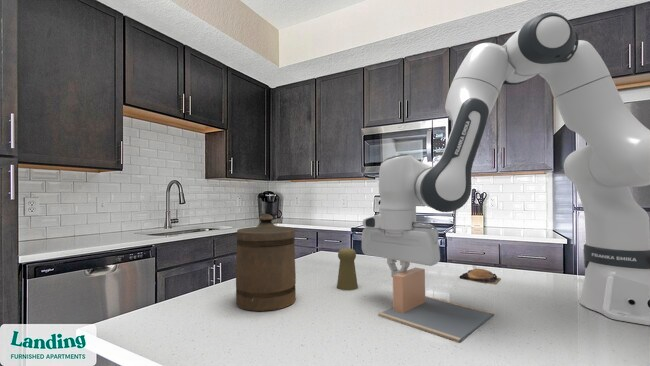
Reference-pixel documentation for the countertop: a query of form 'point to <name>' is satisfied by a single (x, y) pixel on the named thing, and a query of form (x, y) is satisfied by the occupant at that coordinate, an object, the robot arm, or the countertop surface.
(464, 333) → the mat
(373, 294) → the countertop surface
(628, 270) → the robot arm
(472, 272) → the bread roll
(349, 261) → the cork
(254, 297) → the wooden container
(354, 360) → the countertop surface
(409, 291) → the tile
